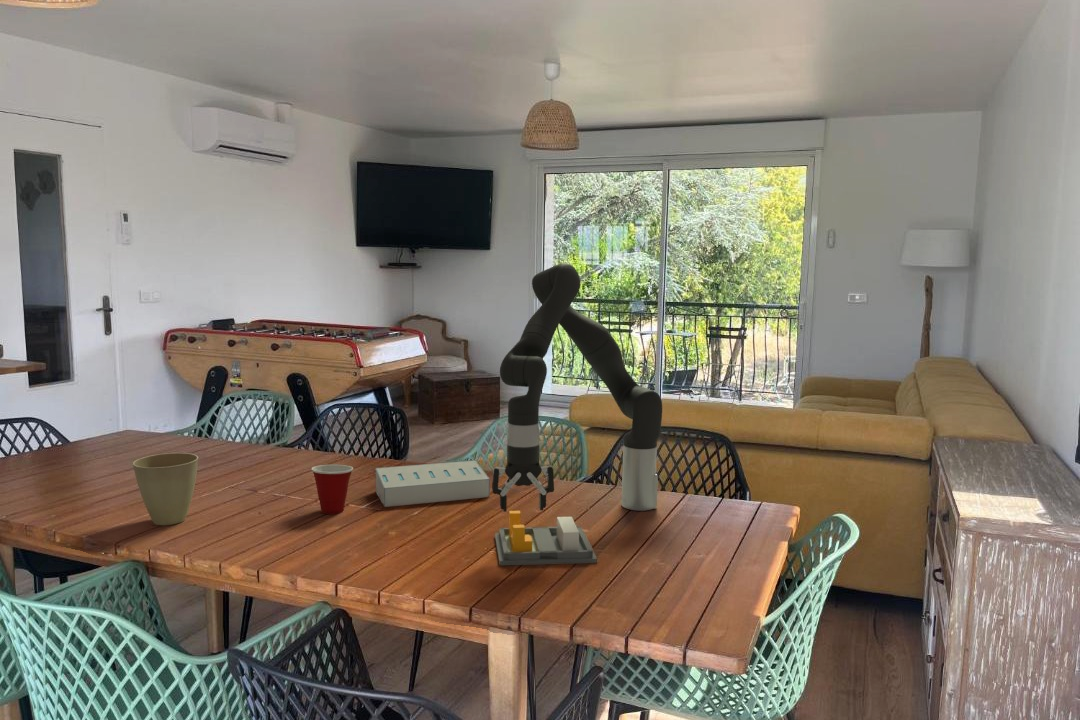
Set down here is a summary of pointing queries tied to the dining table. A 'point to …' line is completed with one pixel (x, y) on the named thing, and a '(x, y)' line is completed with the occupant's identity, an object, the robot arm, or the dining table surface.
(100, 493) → the dining table surface
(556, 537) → the dock
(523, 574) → the dining table surface
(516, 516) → the orange stepped block
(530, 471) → the robot arm
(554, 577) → the dining table surface
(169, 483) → the plant pot
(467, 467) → the warehouse
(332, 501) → the plastic cup
